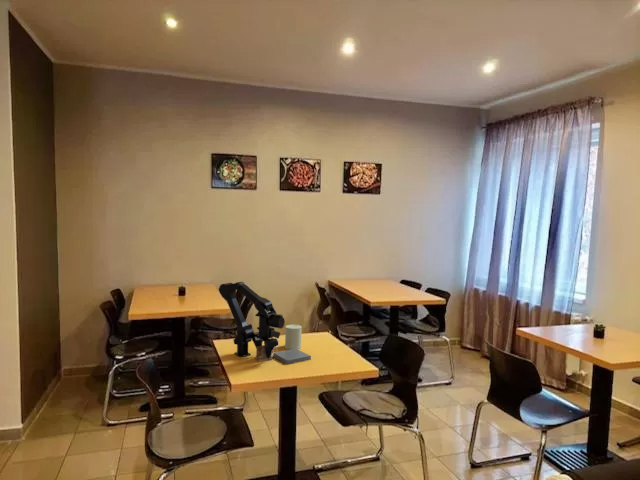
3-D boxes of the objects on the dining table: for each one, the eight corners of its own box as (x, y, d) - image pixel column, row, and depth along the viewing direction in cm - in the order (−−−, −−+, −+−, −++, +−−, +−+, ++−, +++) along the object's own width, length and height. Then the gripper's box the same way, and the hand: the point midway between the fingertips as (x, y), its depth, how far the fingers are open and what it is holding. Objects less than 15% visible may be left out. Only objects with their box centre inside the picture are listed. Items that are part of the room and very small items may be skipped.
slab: (273, 356, 235) (273, 352, 235) (295, 352, 243) (295, 348, 243) (287, 364, 224) (287, 360, 224) (310, 359, 232) (310, 355, 232)
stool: (255, 358, 232) (255, 346, 231) (265, 356, 235) (265, 344, 235) (261, 362, 226) (262, 350, 226) (272, 360, 230) (272, 348, 229)
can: (304, 346, 254) (305, 325, 253) (294, 350, 246) (295, 328, 246) (291, 343, 259) (291, 322, 258) (281, 347, 251) (281, 325, 251)
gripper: (287, 327, 227) (287, 358, 228) (269, 319, 242) (268, 348, 243) (268, 330, 220) (267, 362, 221) (250, 322, 235) (249, 351, 236)
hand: (263, 355), depth 231 cm, fingers open, 9 cm apart
